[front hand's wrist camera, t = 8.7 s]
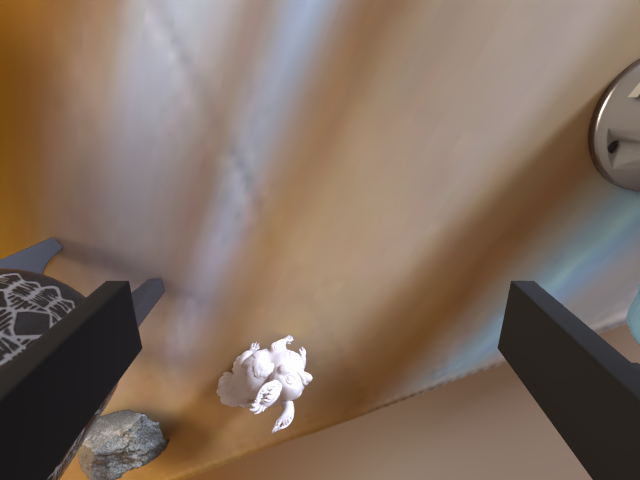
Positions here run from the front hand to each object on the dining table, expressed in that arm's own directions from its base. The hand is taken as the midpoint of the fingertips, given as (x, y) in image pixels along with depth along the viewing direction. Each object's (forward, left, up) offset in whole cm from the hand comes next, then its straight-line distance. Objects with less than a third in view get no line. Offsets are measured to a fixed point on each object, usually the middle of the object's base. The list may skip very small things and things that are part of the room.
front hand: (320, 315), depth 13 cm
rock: (+10, +48, -32) cm, 59 cm away
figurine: (-4, +28, -32) cm, 43 cm away
